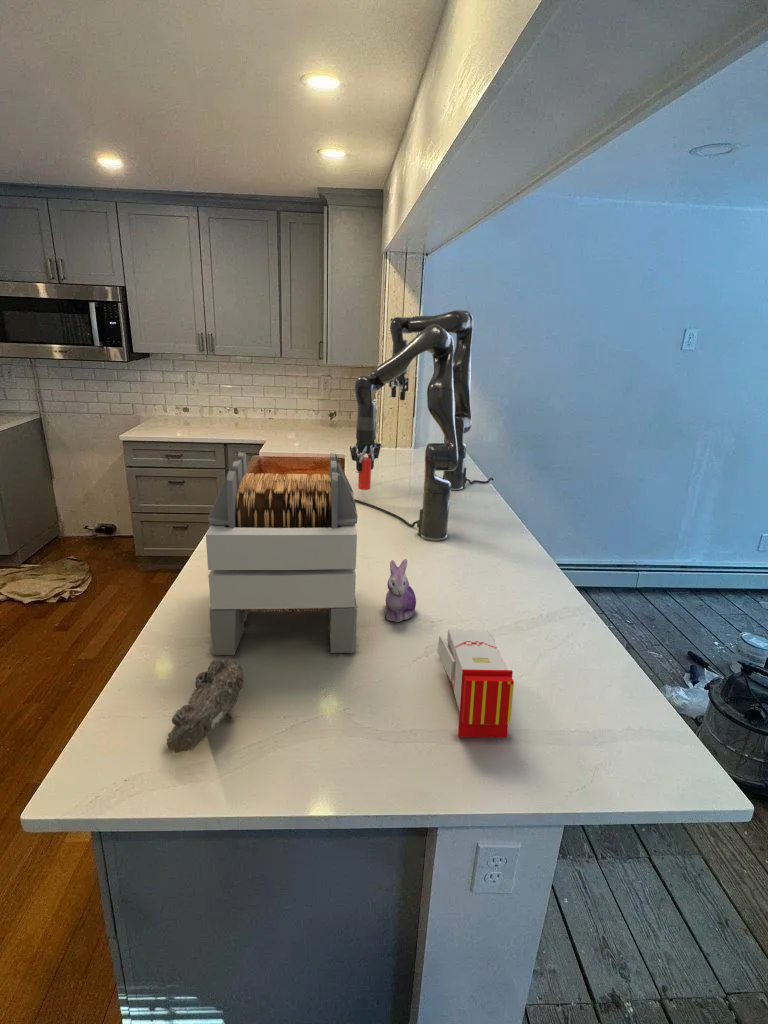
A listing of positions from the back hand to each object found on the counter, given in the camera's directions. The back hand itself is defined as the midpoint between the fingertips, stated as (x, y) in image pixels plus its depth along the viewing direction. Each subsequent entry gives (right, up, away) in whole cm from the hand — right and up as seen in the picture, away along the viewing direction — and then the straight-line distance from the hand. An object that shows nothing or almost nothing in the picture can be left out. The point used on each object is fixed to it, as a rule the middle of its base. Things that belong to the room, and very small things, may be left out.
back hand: (397, 398), depth 266 cm
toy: (+11, -91, -147) cm, 173 cm away
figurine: (-3, -80, -118) cm, 143 cm away
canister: (-14, -44, -38) cm, 60 cm away
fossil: (-39, -92, -157) cm, 187 cm away
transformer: (-31, -80, -122) cm, 149 cm away
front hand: (-14, -37, -41) cm, 57 cm away
